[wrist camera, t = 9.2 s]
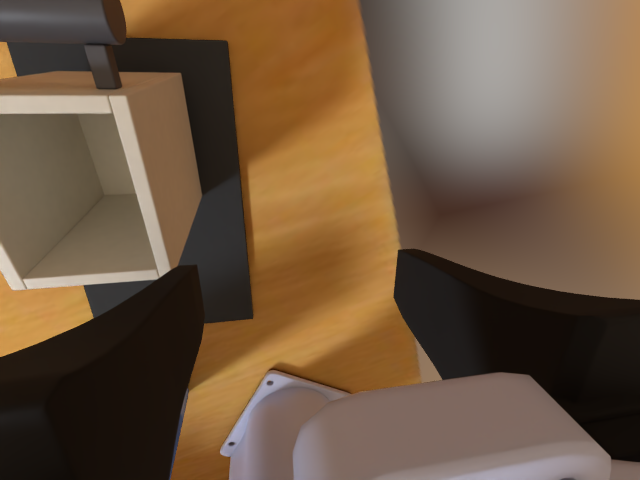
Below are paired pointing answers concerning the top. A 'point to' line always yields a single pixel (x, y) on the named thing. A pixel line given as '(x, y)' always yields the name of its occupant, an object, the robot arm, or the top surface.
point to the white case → (90, 157)
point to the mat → (211, 157)
